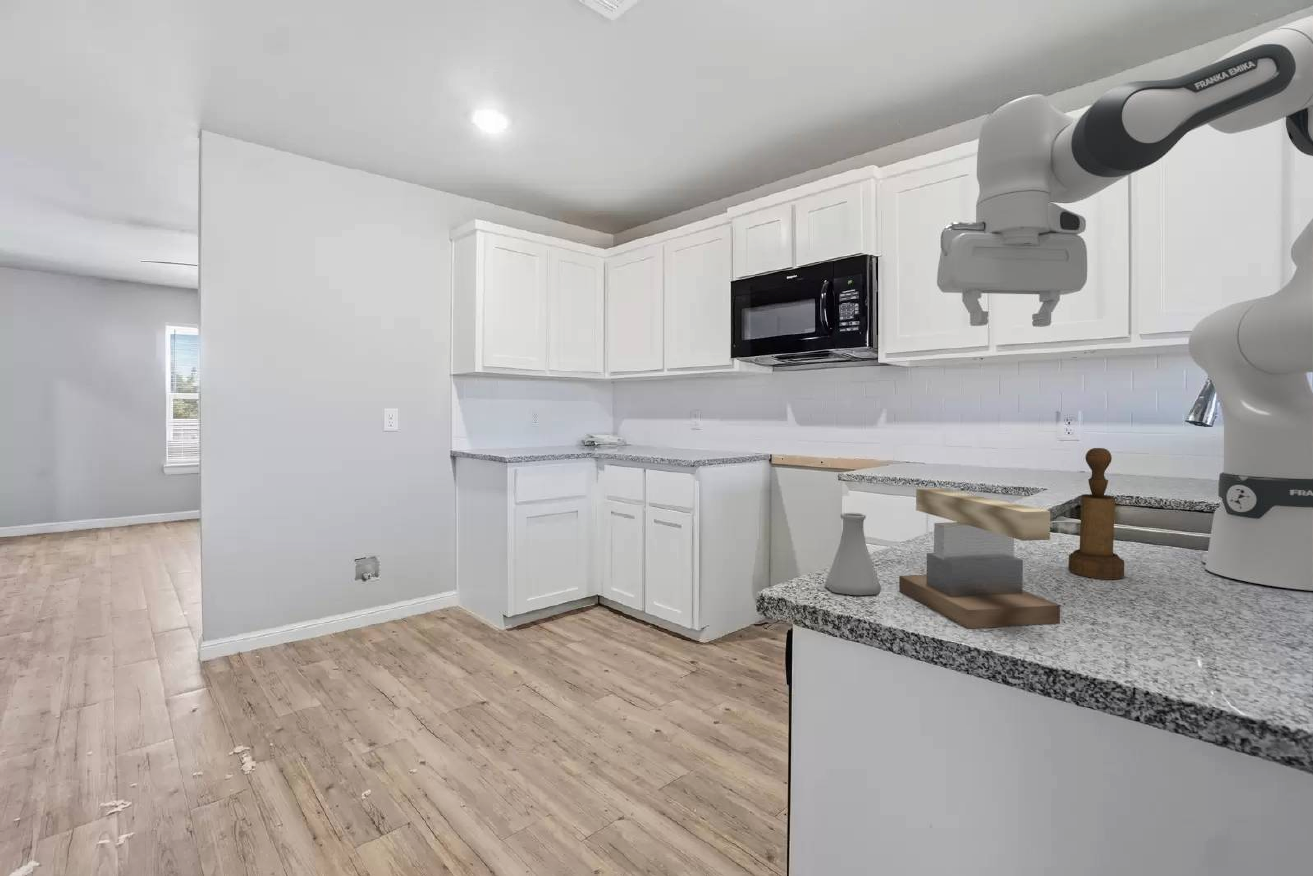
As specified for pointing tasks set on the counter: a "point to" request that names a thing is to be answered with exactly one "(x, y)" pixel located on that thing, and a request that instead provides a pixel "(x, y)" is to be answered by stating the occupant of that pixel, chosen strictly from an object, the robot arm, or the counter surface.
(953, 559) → the grey stepped block
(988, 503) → the maple bar
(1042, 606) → the walnut base
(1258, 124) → the robot arm
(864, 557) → the flask
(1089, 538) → the brown tall knobbed post
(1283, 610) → the counter surface
